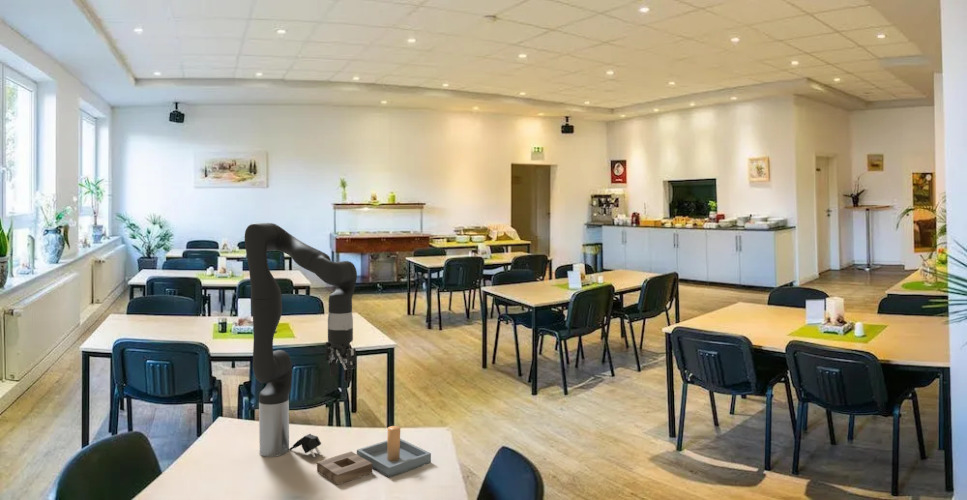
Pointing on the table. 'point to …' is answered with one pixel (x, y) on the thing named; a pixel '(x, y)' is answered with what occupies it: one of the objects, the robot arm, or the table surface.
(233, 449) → the table surface
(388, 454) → the orange plug
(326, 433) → the table surface
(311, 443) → the power plug
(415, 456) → the slate tray
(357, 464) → the wooden square hole block
